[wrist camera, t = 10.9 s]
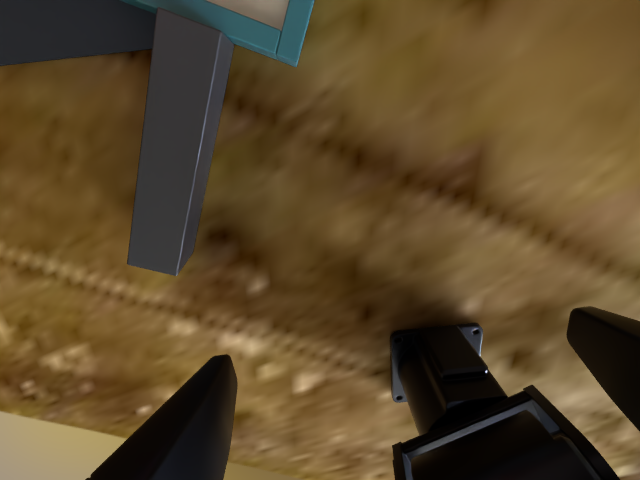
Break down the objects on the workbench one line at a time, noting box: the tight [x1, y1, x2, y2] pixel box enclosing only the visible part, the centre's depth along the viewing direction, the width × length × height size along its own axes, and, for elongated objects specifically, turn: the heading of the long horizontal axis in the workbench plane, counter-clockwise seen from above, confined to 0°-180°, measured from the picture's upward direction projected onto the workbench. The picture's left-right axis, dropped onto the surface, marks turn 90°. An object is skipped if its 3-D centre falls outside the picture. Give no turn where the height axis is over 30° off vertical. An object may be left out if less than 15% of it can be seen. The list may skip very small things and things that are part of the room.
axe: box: [120, 0, 315, 276], centre depth 14 cm, size 22×9×3 cm, turn 162°
